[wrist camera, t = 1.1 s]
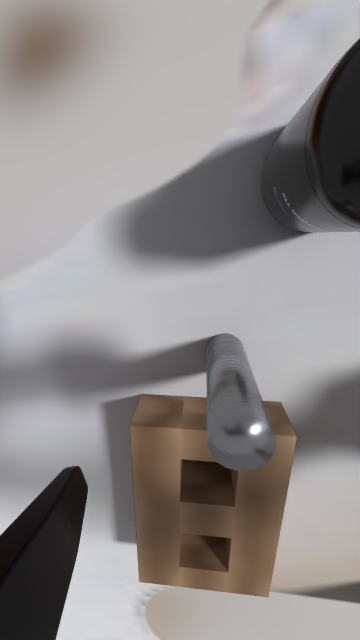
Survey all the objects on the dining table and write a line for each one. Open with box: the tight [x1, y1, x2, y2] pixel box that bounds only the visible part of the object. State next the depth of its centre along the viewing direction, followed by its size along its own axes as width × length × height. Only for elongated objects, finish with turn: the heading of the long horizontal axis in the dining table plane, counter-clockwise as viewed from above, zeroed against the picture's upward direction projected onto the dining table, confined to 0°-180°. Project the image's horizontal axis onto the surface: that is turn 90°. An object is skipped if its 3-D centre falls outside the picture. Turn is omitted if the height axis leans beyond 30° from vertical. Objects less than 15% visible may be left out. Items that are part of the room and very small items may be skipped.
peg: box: [206, 334, 276, 471], centre depth 16 cm, size 3×3×10 cm
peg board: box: [129, 394, 297, 597], centre depth 23 cm, size 12×18×4 cm, turn 0°
